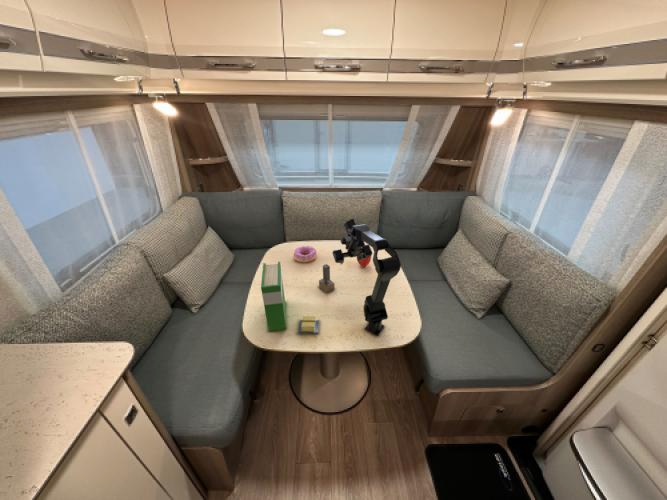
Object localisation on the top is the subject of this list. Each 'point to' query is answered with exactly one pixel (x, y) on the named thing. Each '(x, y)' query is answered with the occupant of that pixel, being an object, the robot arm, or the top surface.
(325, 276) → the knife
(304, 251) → the donut
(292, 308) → the top surface
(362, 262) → the apple
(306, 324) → the butter dish
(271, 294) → the hardback book
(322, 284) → the brown rectangular block
